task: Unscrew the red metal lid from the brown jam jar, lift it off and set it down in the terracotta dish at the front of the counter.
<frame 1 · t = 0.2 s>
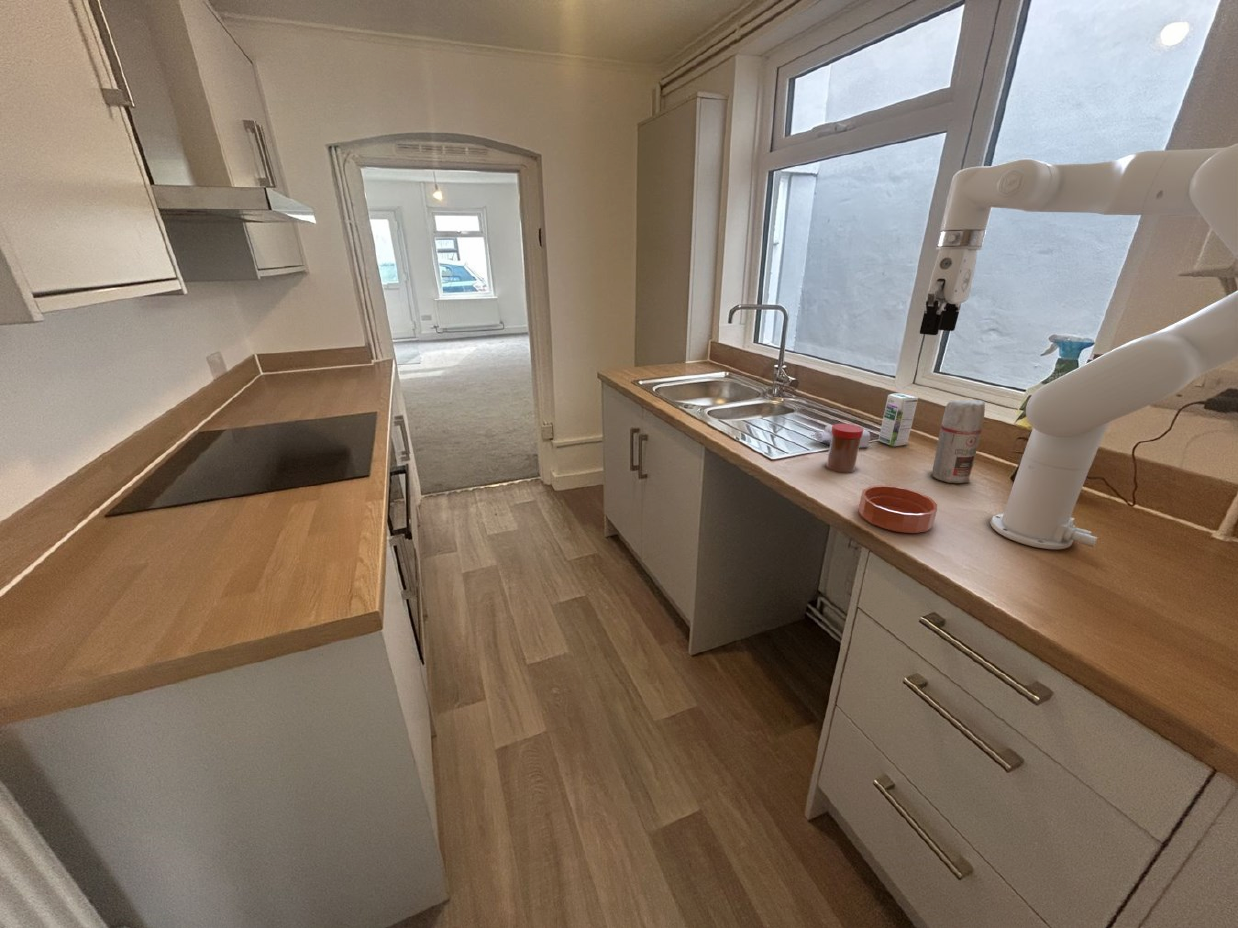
hand: (937, 332, 100), 36 cm above the worktop, tool pointing down, fingers open, 9 cm apart
charger: (835, 444, 144), on the worktop
lid: (847, 428, 123), point 11 cm above the worktop, screwed on, not yet turned
jar: (840, 467, 127), on the worktop
spray can: (948, 478, 120), on the worktop
syrup box: (892, 443, 144), on the worktop
dish: (894, 518, 101), on the worktop
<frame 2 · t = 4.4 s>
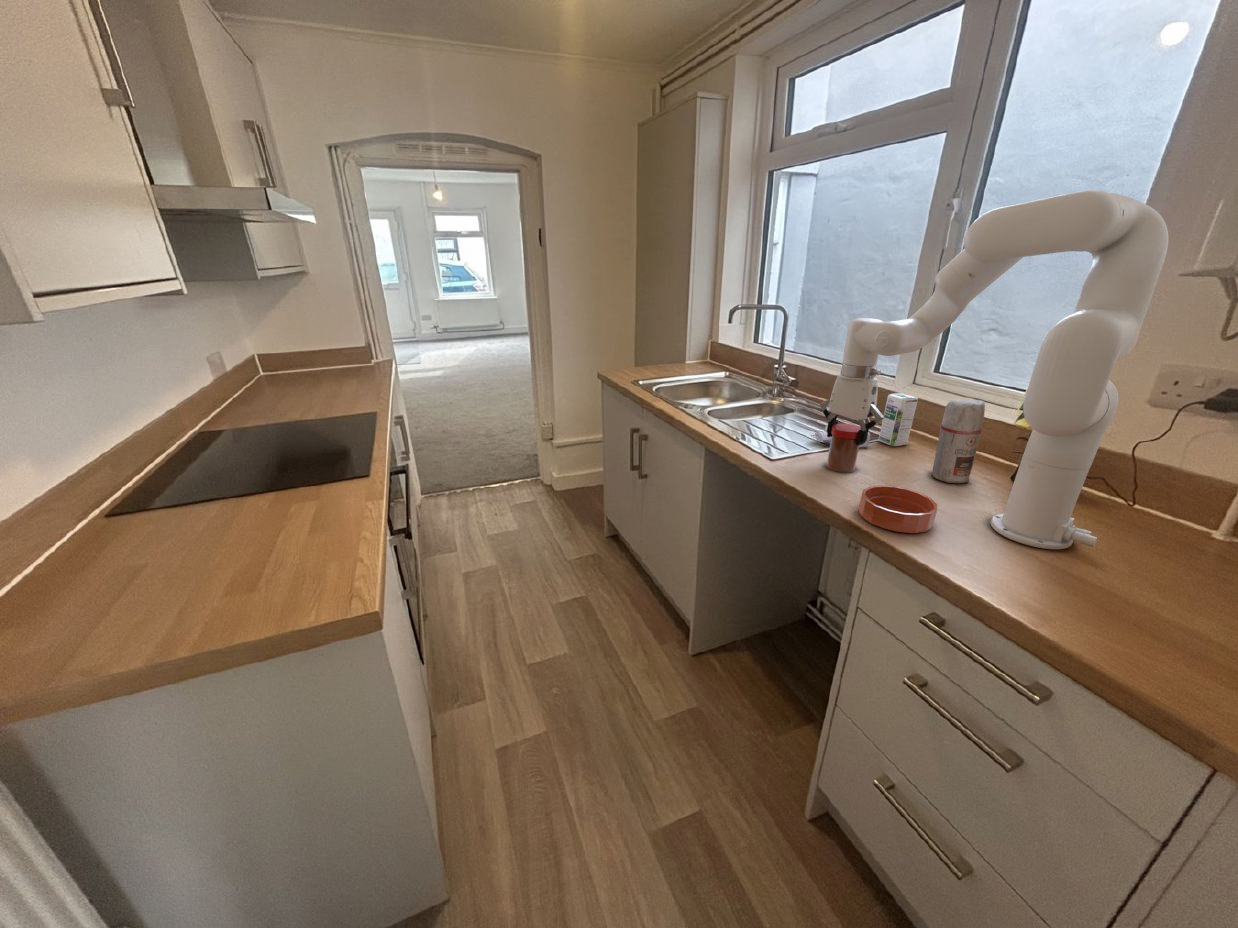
hand: (845, 439, 124), 8 cm above the worktop, tool pointing down, fingers closed on lid, 7 cm apart
lid: (847, 428, 123), point 11 cm above the worktop, screwed on, not yet turned, touching gripper
everything else where it was.
when the fingers open (7 cm above the worktop, at t = 6.6 s): lid stays where it is, point 11 cm above the worktop.
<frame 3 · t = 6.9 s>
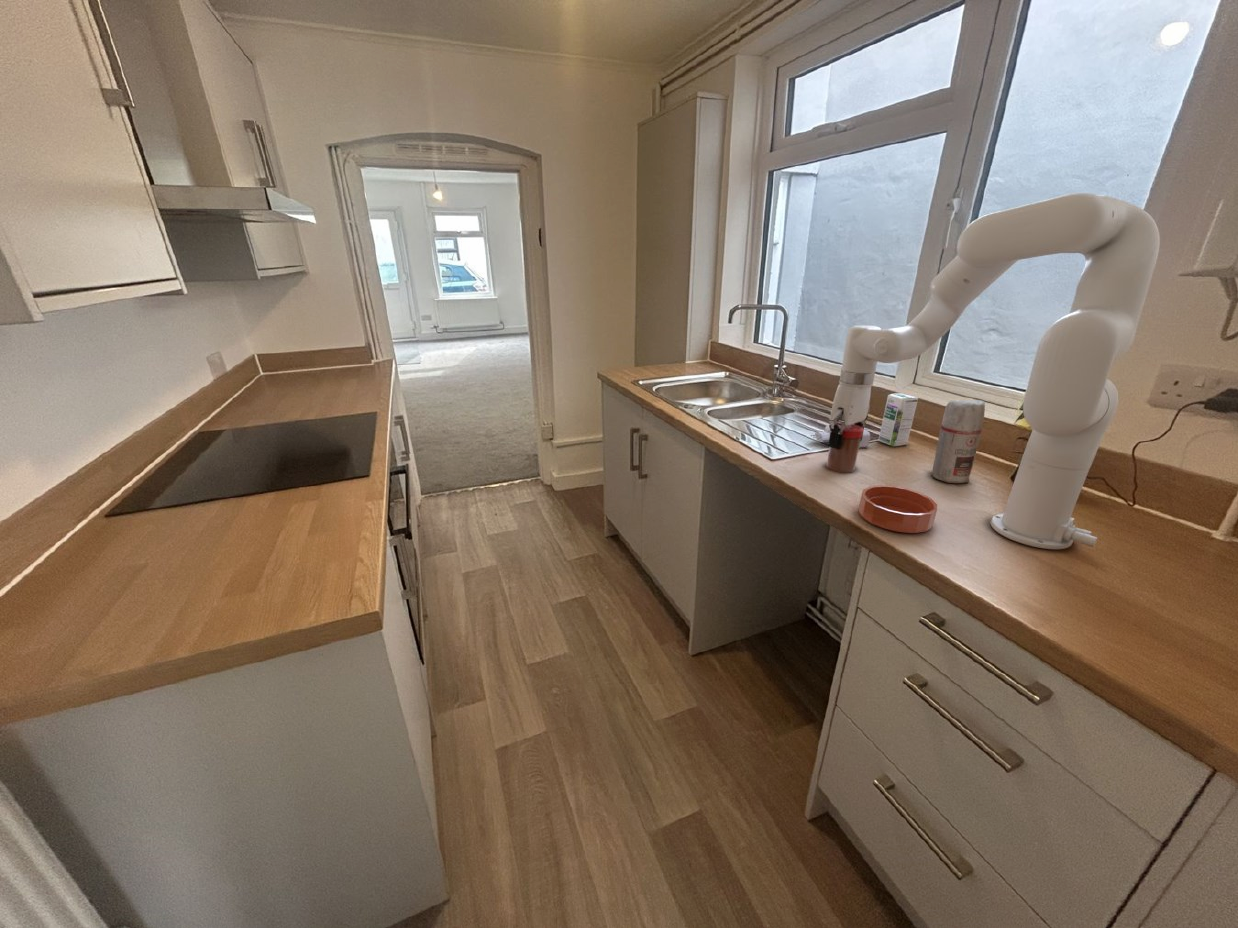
hand: (845, 443, 124), 7 cm above the worktop, tool pointing down, fingers open, 9 cm apart
lid: (847, 428, 123), point 11 cm above the worktop, turned 96° so far, risen 0.1 cm, still on its thread
everything else where it was.
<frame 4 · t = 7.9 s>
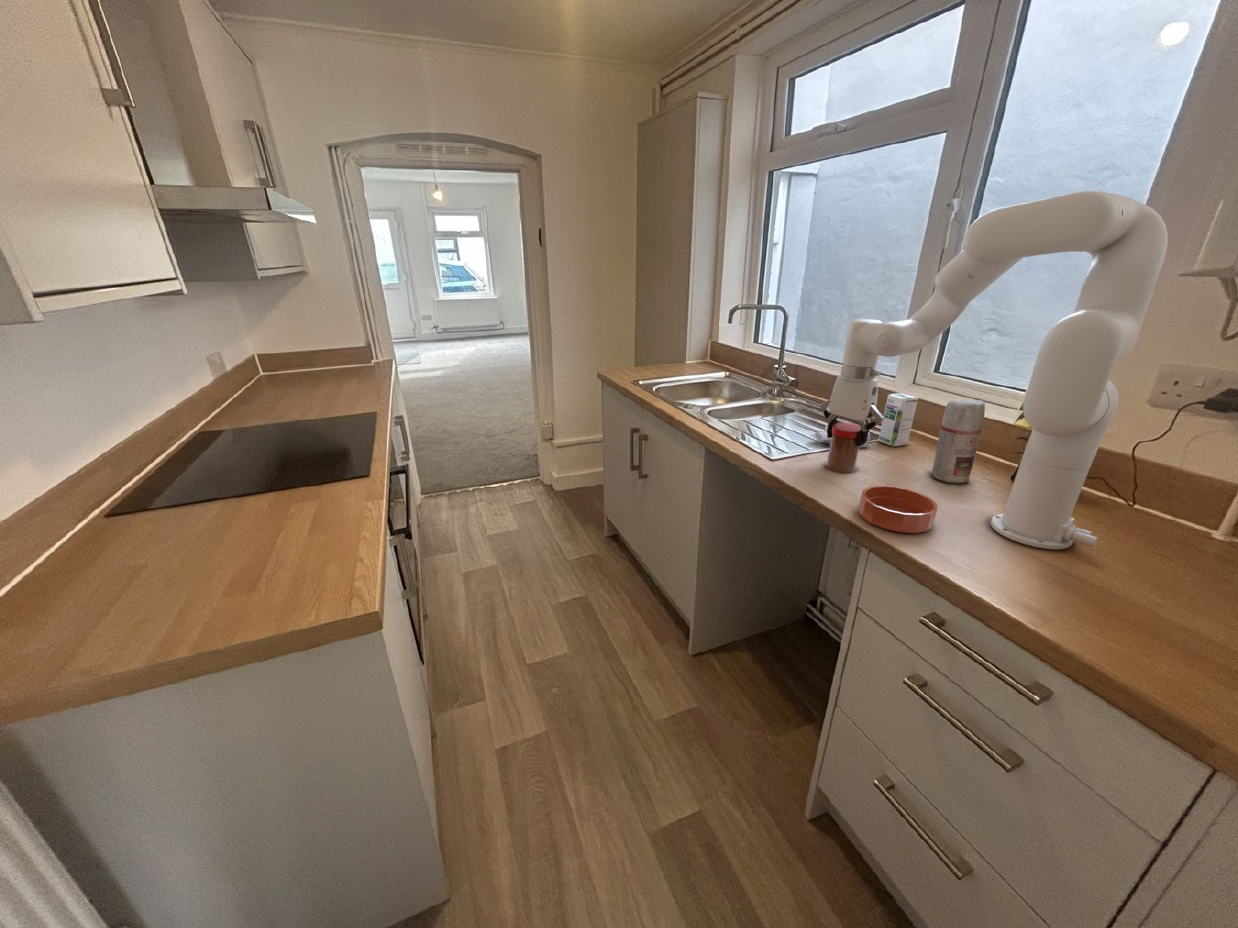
hand: (845, 440, 124), 8 cm above the worktop, tool pointing down, fingers closed on lid, 7 cm apart
lid: (847, 428, 123), point 11 cm above the worktop, turned 96° so far, risen 0.1 cm, still on its thread, touching gripper
everything else where it was.
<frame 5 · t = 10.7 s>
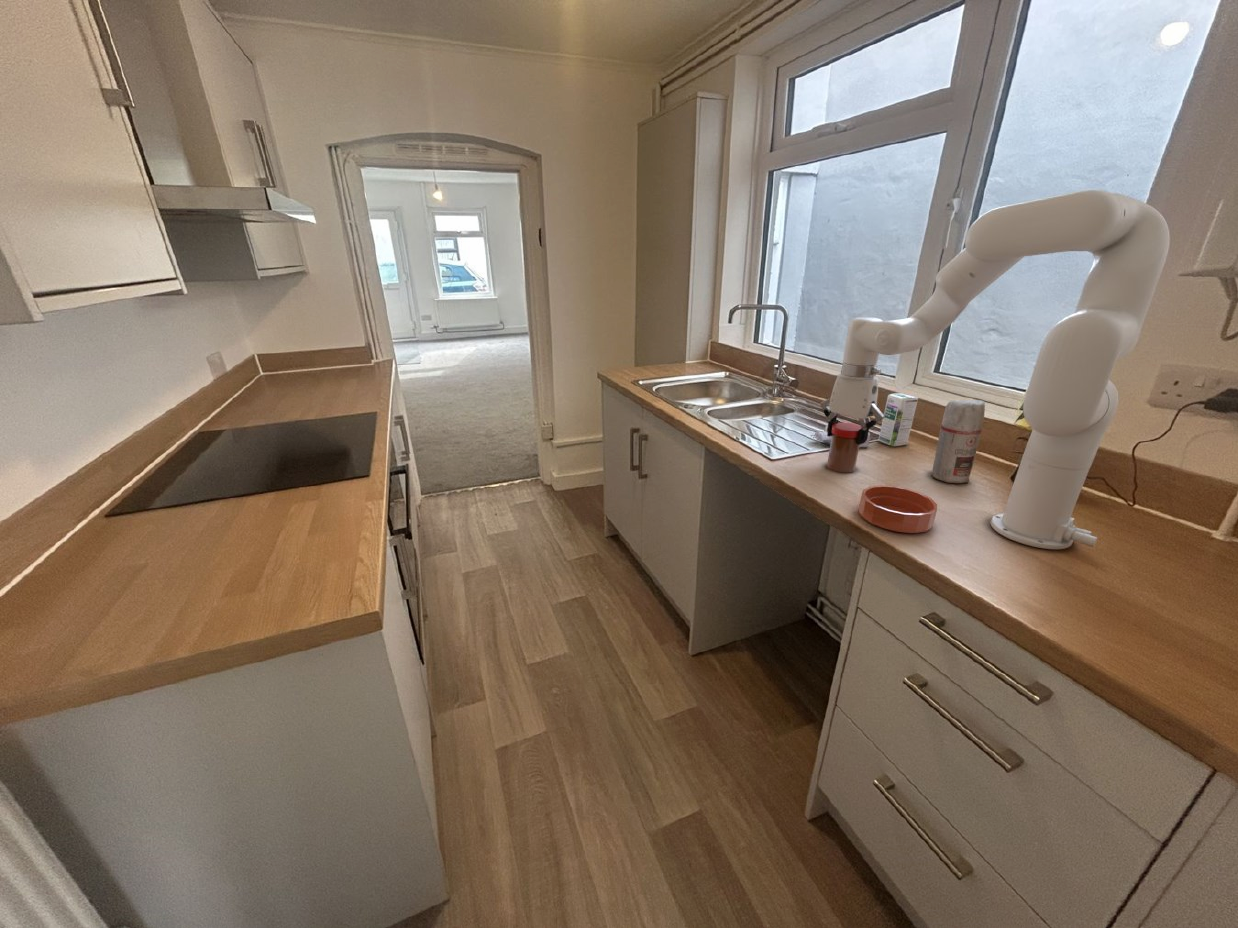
hand: (845, 438, 124), 8 cm above the worktop, tool pointing down, fingers closed on lid, 7 cm apart
lid: (847, 427, 122), point 11 cm above the worktop, turned 190° so far, risen 0.3 cm, still on its thread, touching gripper
everything else where it was.
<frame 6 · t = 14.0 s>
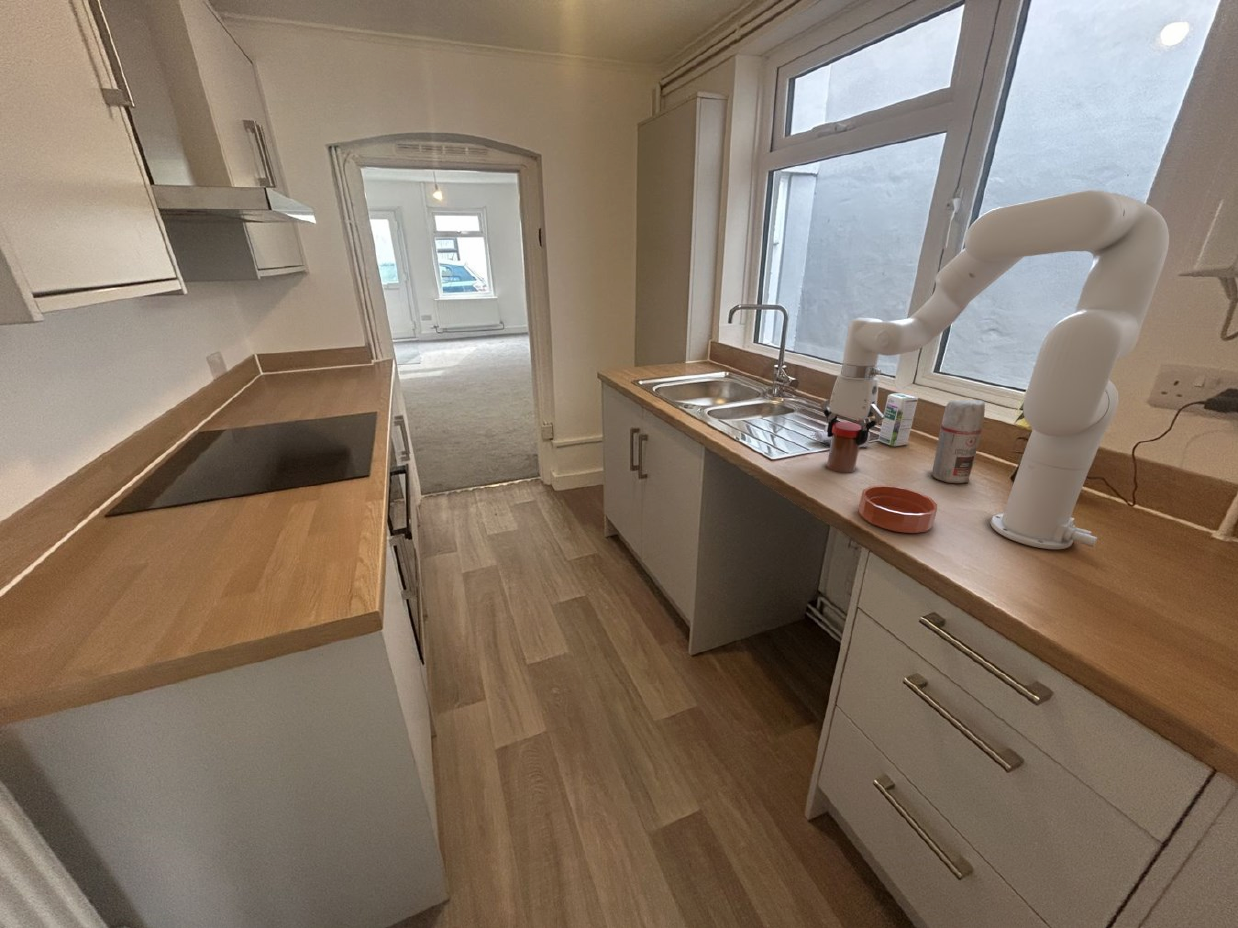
hand: (845, 439, 124), 8 cm above the worktop, tool pointing down, fingers closed on lid, 7 cm apart
lid: (848, 427, 122), point 11 cm above the worktop, turned 285° so far, risen 0.4 cm, still on its thread, touching gripper
everything else where it was.
when the fingers open (3 cm above the worktop, at t = 23.6 s): lid drops 4 cm, resting on dish.
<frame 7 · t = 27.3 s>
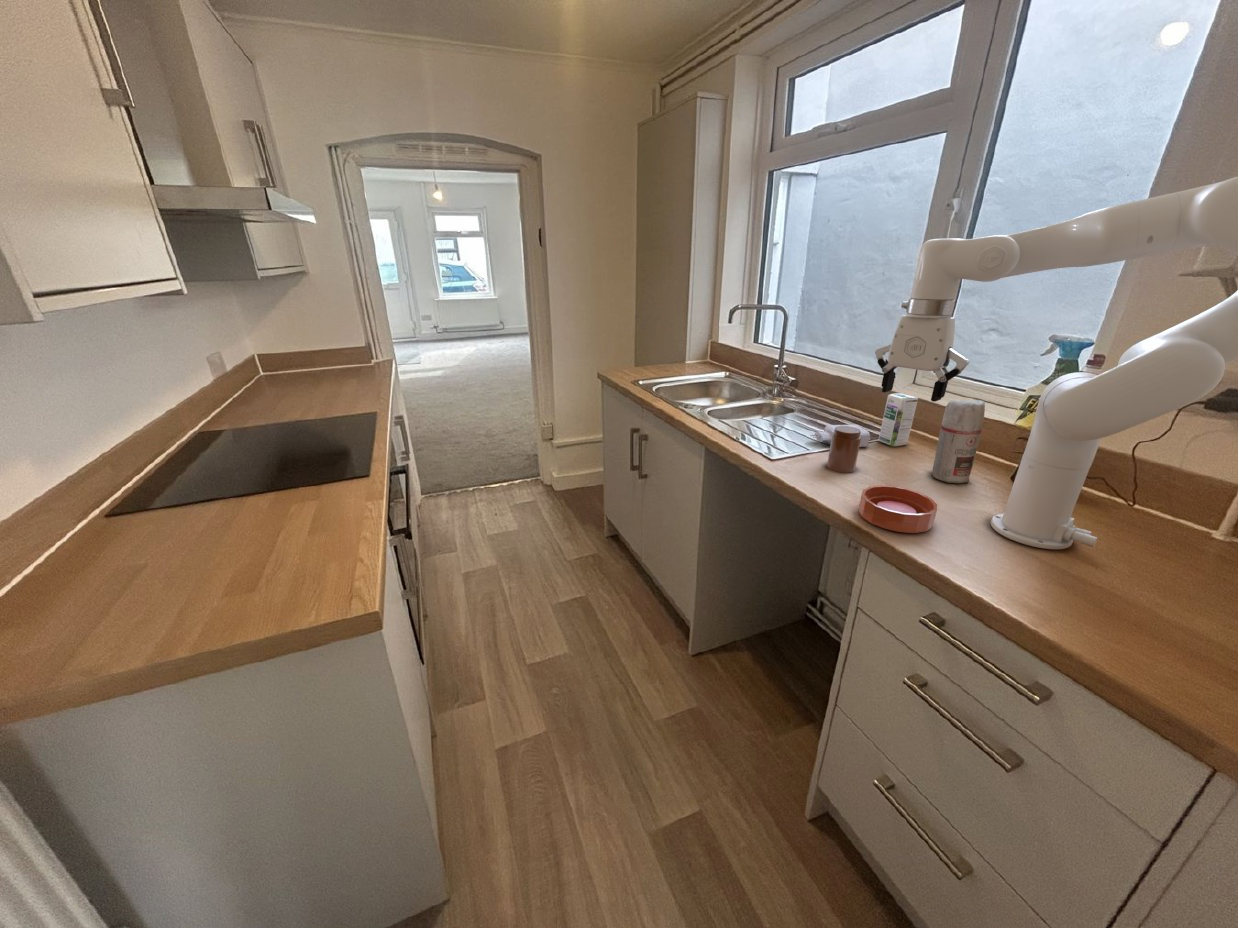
hand: (910, 395, 99), 24 cm above the worktop, tool pointing down, fingers open, 9 cm apart
lid: (895, 510, 100), point 2 cm above the worktop, off its thread, touching dish
everything else where it was.
at the end: lid inside the target area in the dish (0.0 cm from its centre), point 2.0 cm above the dish's base; lid came off its thread; the gripper is holding nothing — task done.
